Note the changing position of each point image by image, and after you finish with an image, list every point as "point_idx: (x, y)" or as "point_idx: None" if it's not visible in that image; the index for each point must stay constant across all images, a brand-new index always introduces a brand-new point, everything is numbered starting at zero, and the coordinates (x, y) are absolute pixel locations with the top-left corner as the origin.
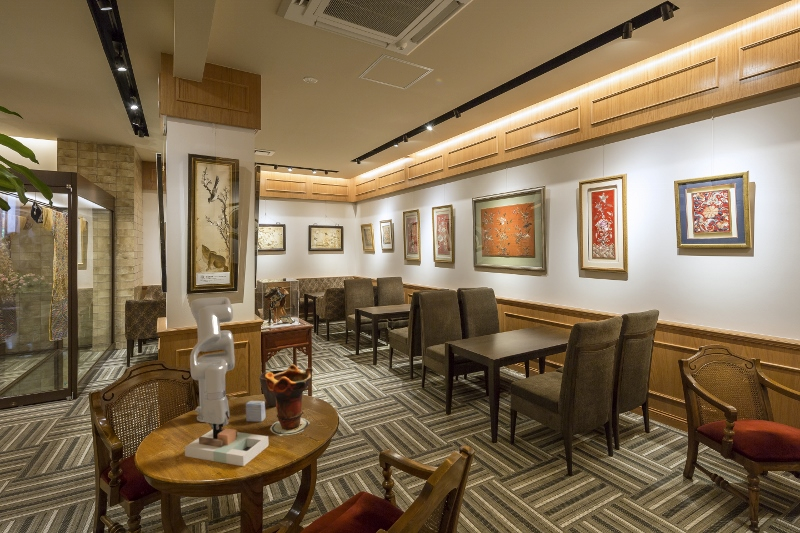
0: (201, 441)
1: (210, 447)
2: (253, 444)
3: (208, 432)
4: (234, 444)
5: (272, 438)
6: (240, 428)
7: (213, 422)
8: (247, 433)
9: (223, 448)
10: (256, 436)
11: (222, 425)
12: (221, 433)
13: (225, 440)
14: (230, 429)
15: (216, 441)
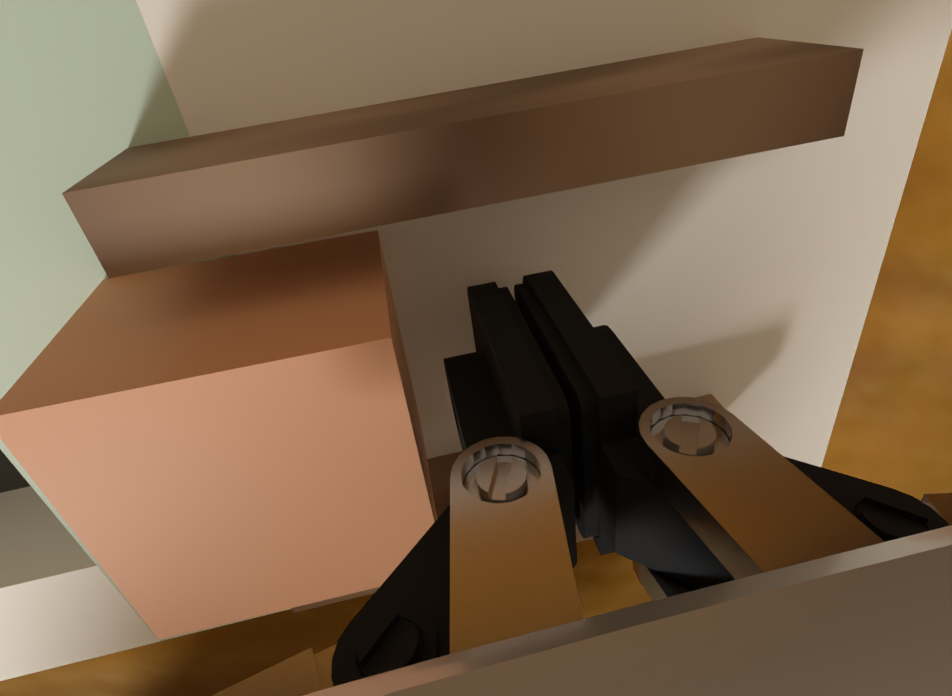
0: (728, 56)
1: (370, 24)
2: (13, 520)
3: (831, 391)
4: (18, 360)
5: (100, 660)
6: (597, 598)
7: (661, 682)
8: (243, 620)
9: (14, 131)
10: (14, 645)
11: (343, 651)
12: (315, 411)
13: (129, 316)
14: (306, 597)
15: (245, 153)
